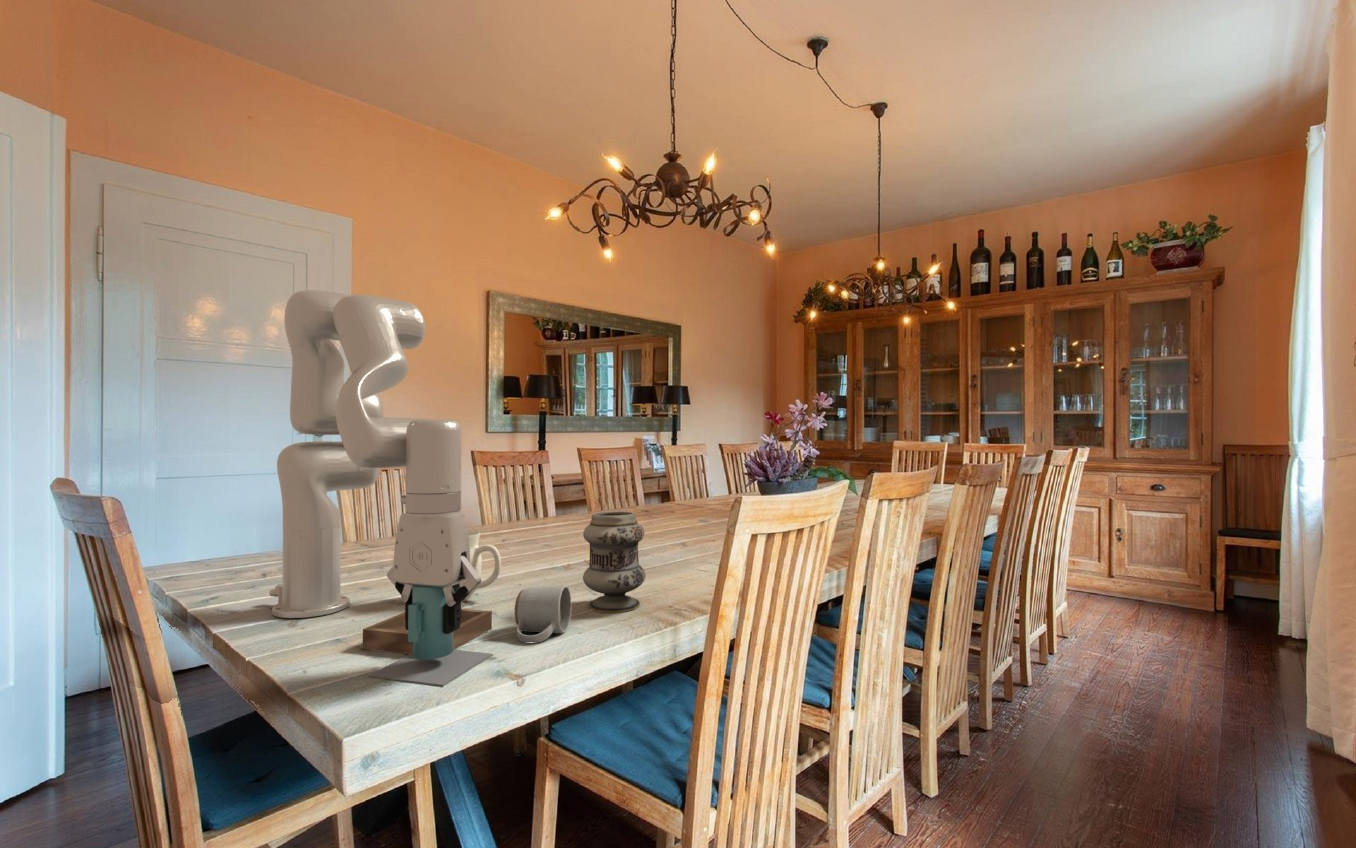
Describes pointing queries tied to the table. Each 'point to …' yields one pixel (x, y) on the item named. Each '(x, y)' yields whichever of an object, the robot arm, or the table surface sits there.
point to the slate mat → (431, 668)
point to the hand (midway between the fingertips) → (433, 628)
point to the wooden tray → (395, 636)
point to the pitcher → (477, 560)
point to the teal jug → (428, 623)
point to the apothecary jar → (614, 560)
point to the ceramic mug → (542, 611)
